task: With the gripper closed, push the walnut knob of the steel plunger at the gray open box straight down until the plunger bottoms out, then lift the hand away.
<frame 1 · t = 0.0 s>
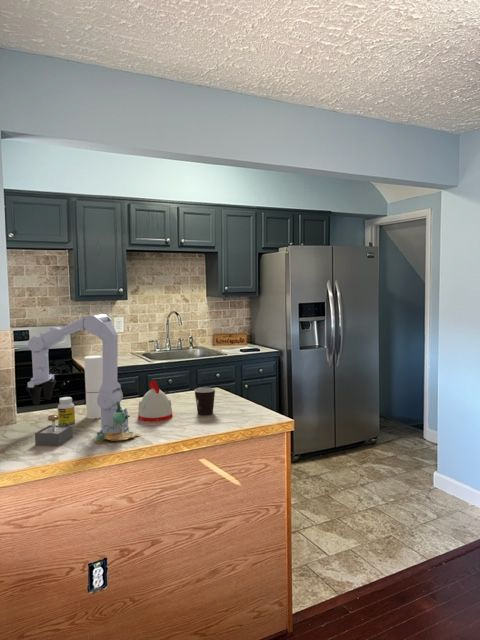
hand: (42, 401, 188), 10 cm above the countertop, fingers open, 7 cm apart
pill bottle: (66, 426, 190), on the countertop
cylindrical container: (95, 416, 203), on the countertop
plunger: (53, 423, 172), point 6 cm above the countertop, slide at 3.0 cm
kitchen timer: (155, 417, 201), on the countertop
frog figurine: (117, 439, 175), on the countertop, touching arm
gray open box: (54, 441, 173), on the countertop
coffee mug: (205, 412, 207), on the countertop
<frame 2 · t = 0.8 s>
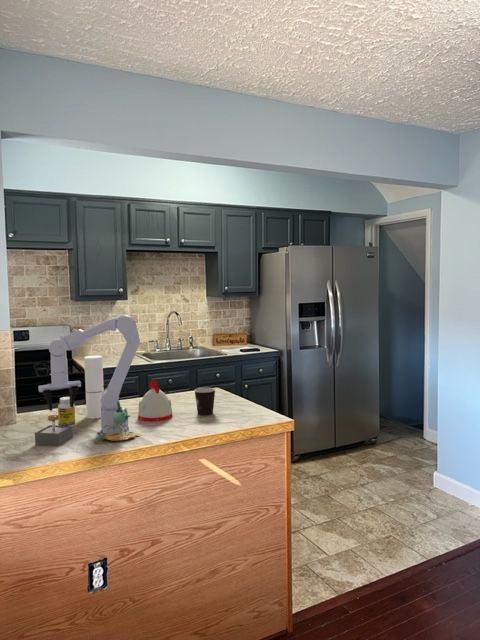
hand: (61, 408, 179), 10 cm above the countertop, fingers open, 7 cm apart
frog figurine: (117, 439, 175), on the countertop
everything else where it was.
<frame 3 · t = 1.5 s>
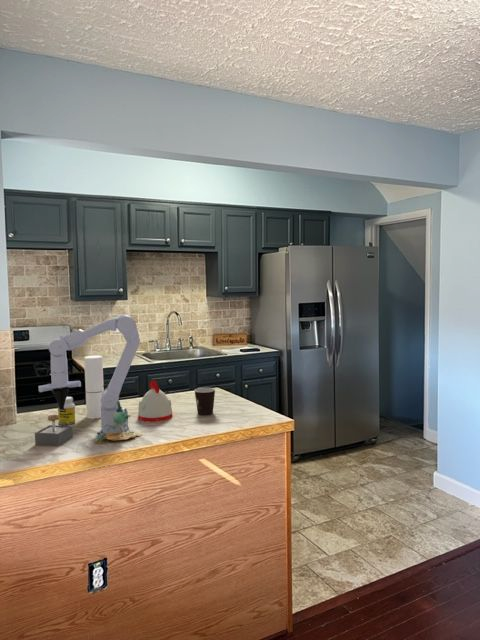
hand: (61, 408, 179), 10 cm above the countertop, fingers closed
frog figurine: (118, 439, 175), on the countertop, touching arm
everything else where it was.
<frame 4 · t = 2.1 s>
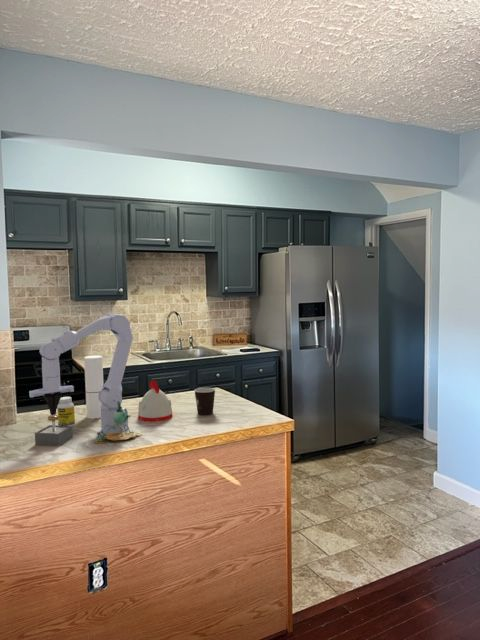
hand: (53, 414, 172), 10 cm above the countertop, fingers closed
nothing on the countertop moved.
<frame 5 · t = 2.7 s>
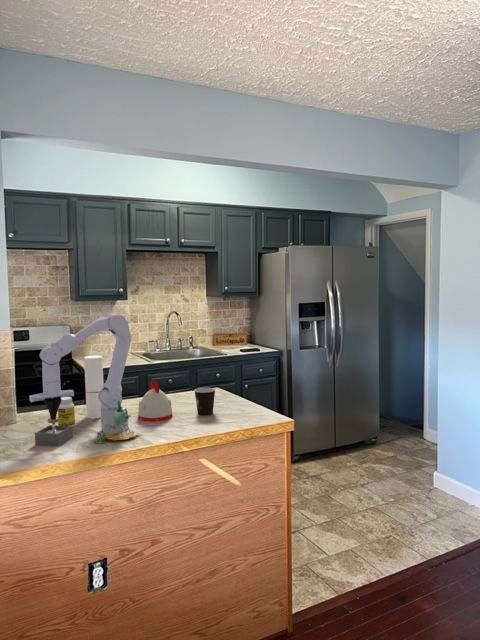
hand: (53, 418, 172), 8 cm above the countertop, fingers closed, pressing on plunger
plunger: (53, 426, 172), point 5 cm above the countertop, slide at 2.2 cm, touching gripper
everything else where it was.
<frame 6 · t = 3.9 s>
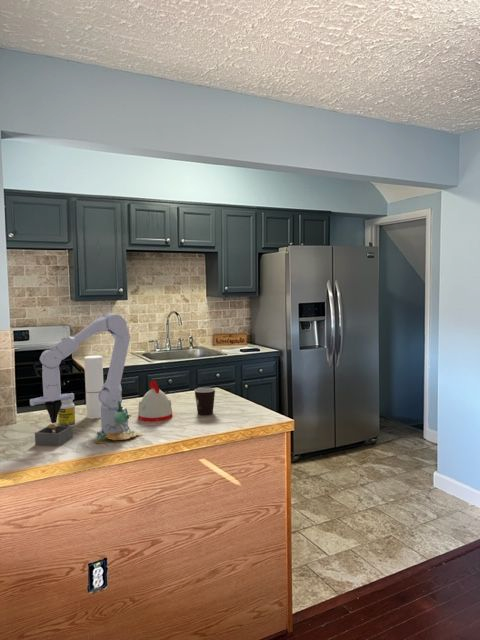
hand: (53, 422, 172), 7 cm above the countertop, fingers closed
plunger: (54, 432, 172), point 3 cm above the countertop, slide at -0.1 cm, touching gray open box
everything else where it was.
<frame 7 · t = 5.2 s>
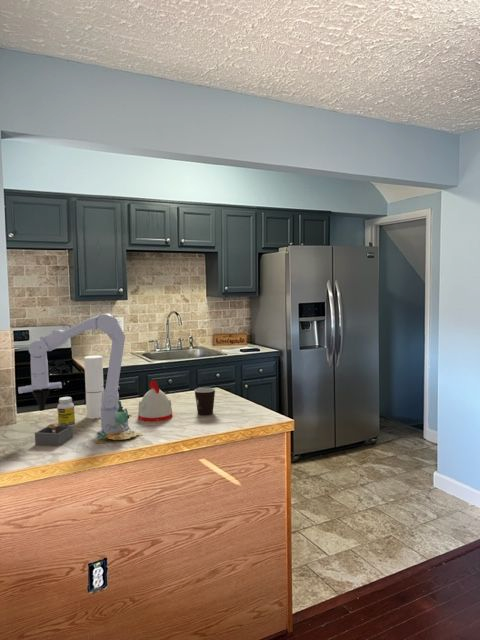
hand: (41, 410, 177), 10 cm above the countertop, fingers closed
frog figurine: (119, 439, 176), on the countertop
everything else where it was.
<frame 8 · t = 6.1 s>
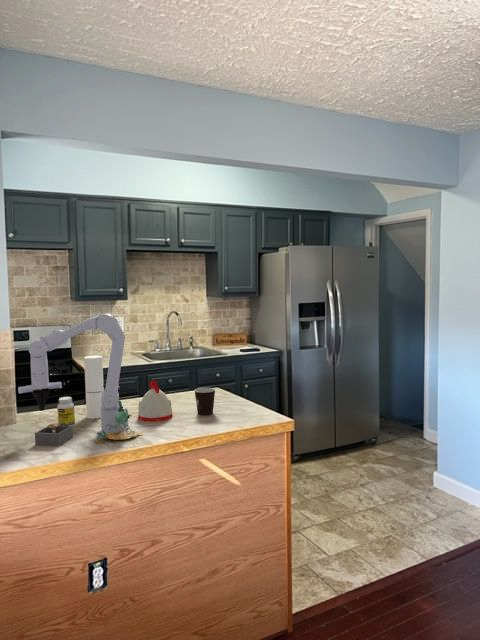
hand: (41, 410, 177), 10 cm above the countertop, fingers closed
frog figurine: (119, 438, 176), on the countertop, touching arm
everything else where it was.
at the end: plunger slide at -0.1 cm; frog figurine moved 1.1 cm from its start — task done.
